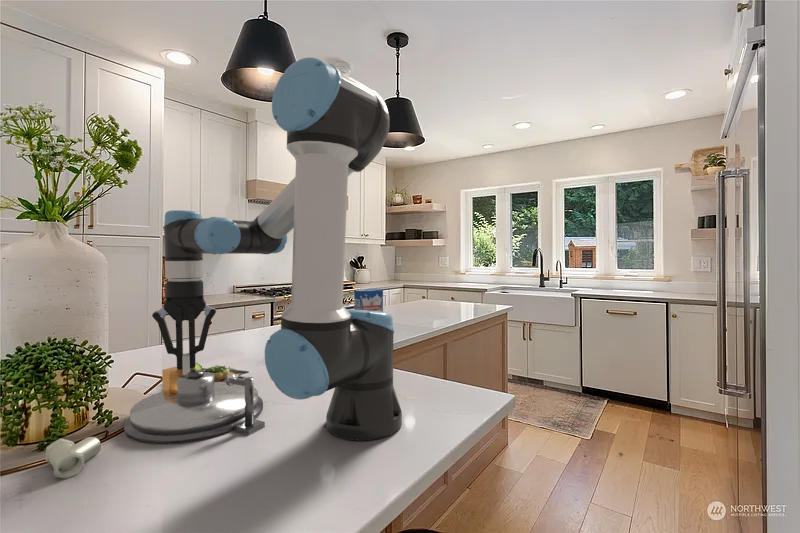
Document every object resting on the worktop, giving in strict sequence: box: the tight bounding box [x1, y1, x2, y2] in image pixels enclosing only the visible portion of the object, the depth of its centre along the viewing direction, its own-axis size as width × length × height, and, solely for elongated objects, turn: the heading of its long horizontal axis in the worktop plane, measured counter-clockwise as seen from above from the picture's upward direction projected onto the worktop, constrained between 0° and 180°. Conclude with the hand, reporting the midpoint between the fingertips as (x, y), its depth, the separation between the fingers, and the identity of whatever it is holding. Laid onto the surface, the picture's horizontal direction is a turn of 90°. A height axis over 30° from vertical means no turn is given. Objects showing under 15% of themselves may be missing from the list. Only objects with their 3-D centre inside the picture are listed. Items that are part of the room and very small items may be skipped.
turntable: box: [129, 366, 259, 435], centre depth 84 cm, size 24×24×7 cm
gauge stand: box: [225, 373, 266, 436], centre depth 79 cm, size 8×4×10 cm, turn 64°
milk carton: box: [353, 288, 384, 312], centre depth 160 cm, size 10×6×20 cm, turn 119°
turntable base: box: [123, 395, 264, 445], centre depth 85 cm, size 26×26×1 cm
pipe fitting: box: [44, 436, 102, 480], centre depth 65 cm, size 8×4×7 cm
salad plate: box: [190, 362, 250, 382], centre depth 108 cm, size 19×18×5 cm
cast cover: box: [177, 370, 214, 407], centre depth 84 cm, size 7×7×6 cm
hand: (186, 382), depth 91 cm, fingers closed
